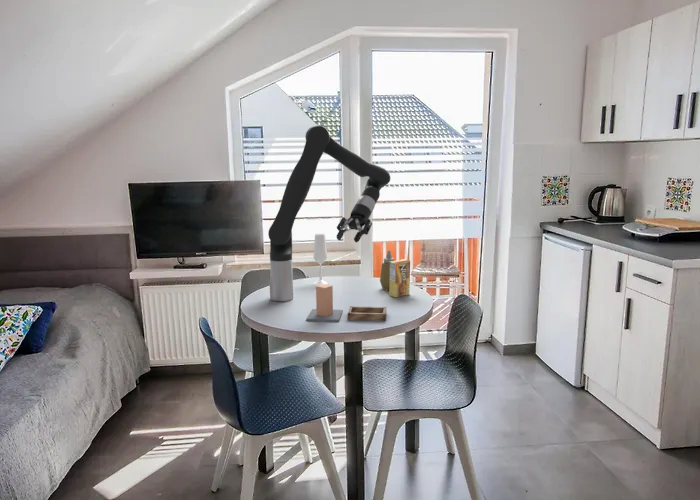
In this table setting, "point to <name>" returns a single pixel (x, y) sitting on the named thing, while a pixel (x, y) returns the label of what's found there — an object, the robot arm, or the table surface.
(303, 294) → the table surface
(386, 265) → the squeeze bottle
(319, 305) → the terracotta block
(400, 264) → the candy box
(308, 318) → the slate mat
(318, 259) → the champagne flute
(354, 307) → the walnut cradle
